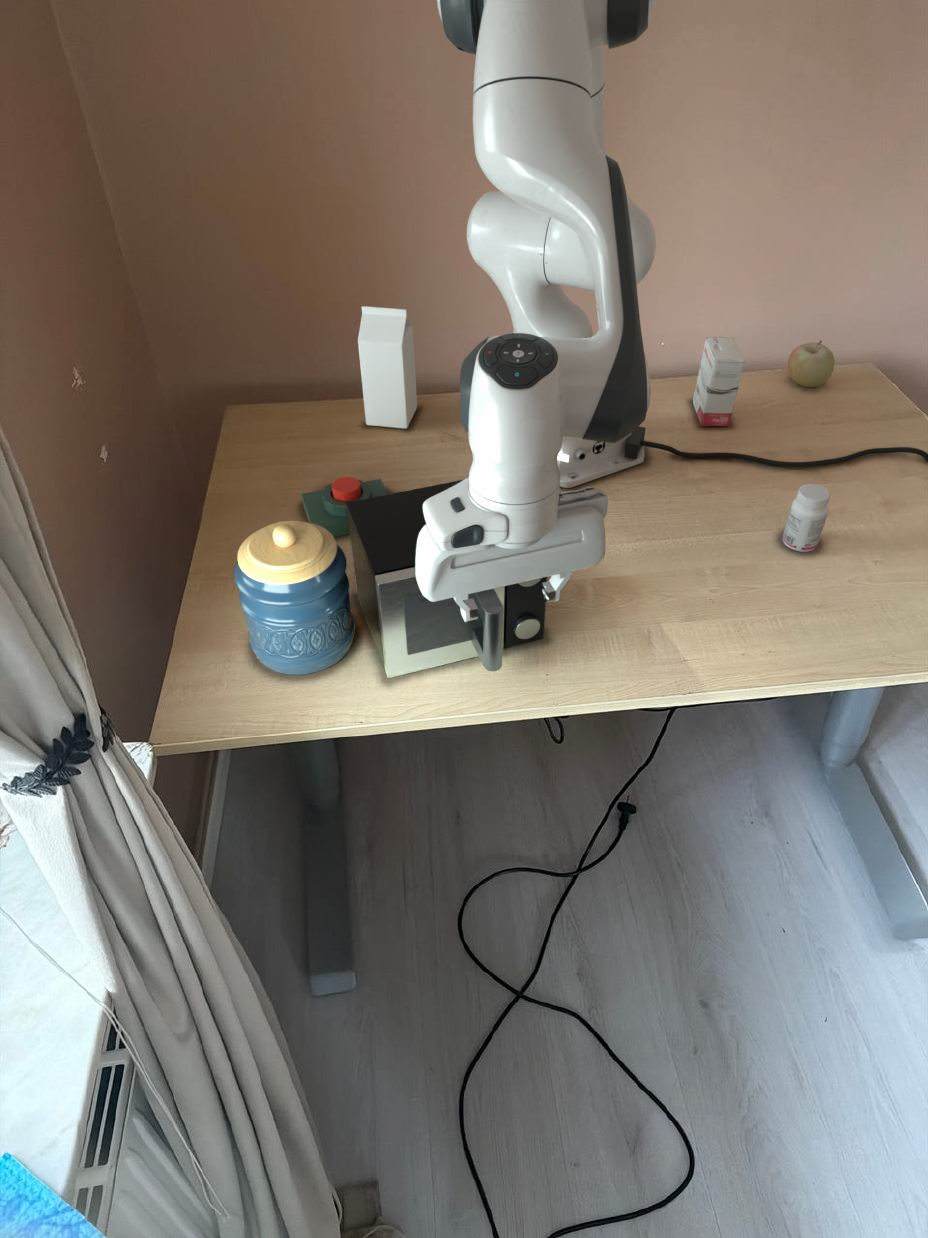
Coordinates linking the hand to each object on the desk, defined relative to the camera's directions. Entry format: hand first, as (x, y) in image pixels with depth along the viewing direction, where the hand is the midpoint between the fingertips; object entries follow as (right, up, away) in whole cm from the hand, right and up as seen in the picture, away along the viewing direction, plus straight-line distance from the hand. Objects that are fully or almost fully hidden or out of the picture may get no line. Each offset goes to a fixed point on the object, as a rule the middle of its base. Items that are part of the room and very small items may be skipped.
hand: (510, 607), depth 98 cm
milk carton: (-17, +33, +53) cm, 65 cm away
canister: (-25, -4, +14) cm, 29 cm away
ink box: (+36, +33, +53) cm, 72 cm away
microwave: (-7, -1, +16) cm, 18 cm away
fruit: (+55, +40, +60) cm, 91 cm away
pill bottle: (+42, +9, +27) cm, 51 cm away
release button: (-22, +17, +31) cm, 41 cm away
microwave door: (-7, -8, +9) cm, 13 cm away
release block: (-22, +14, +33) cm, 42 cm away
